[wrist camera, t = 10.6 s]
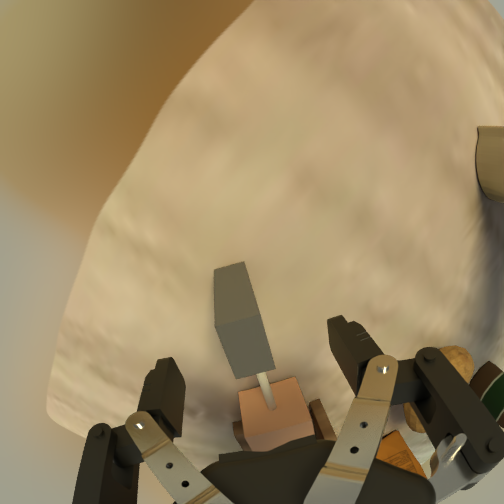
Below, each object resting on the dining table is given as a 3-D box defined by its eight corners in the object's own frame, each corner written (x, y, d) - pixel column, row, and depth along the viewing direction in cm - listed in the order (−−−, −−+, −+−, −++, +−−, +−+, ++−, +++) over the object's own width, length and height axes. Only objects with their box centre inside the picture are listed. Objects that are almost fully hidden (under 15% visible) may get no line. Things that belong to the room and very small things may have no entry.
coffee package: (346, 473, 38) (381, 557, 17) (351, 446, 34) (400, 550, 13) (391, 454, 38) (433, 530, 18) (404, 423, 34) (461, 513, 14)
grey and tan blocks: (191, 275, 21) (182, 334, 14) (266, 254, 22) (294, 304, 14) (260, 438, 29) (270, 490, 21) (306, 426, 29) (324, 475, 22)
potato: (377, 414, 32) (400, 453, 24) (409, 337, 27) (448, 377, 20) (425, 397, 33) (450, 429, 25) (459, 324, 29) (495, 354, 21)
